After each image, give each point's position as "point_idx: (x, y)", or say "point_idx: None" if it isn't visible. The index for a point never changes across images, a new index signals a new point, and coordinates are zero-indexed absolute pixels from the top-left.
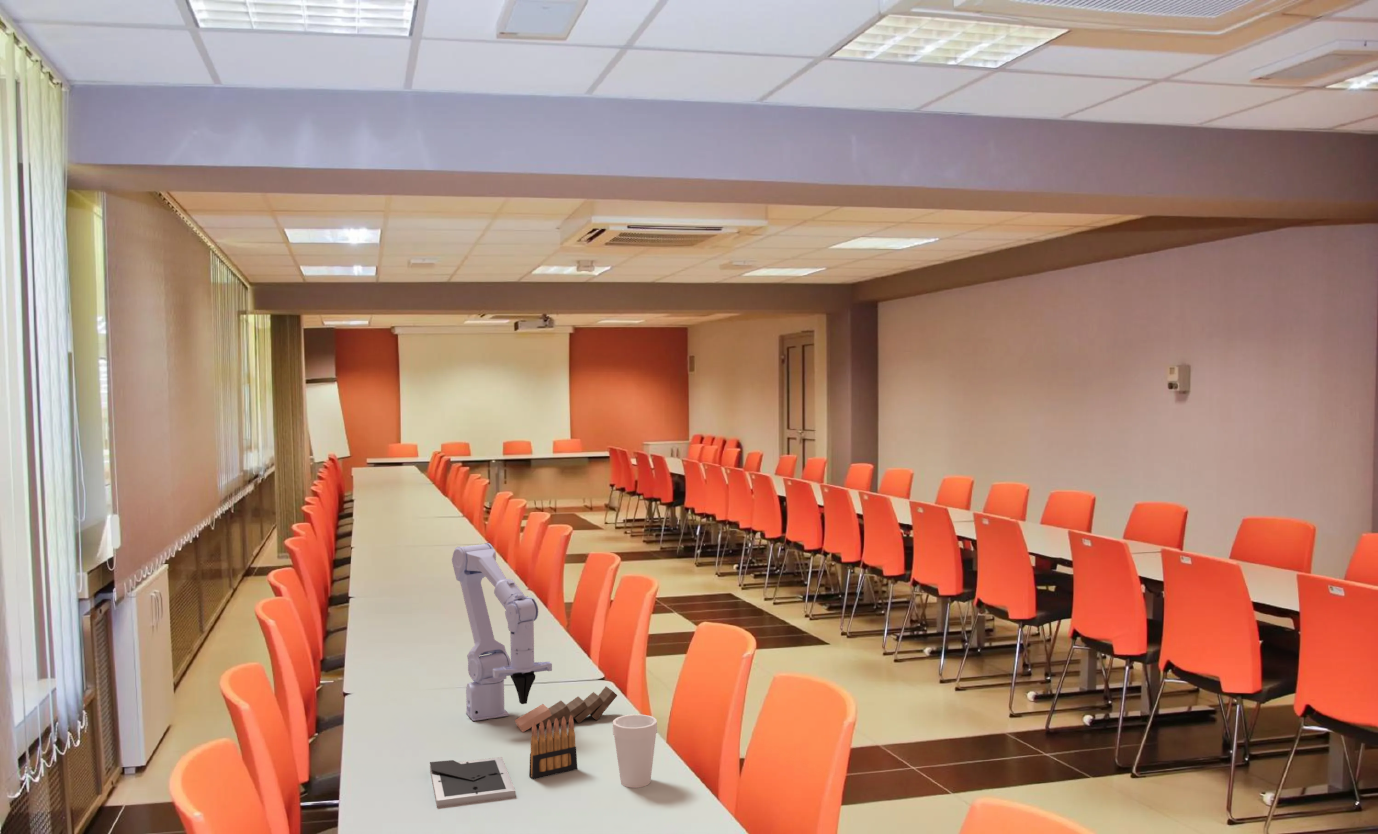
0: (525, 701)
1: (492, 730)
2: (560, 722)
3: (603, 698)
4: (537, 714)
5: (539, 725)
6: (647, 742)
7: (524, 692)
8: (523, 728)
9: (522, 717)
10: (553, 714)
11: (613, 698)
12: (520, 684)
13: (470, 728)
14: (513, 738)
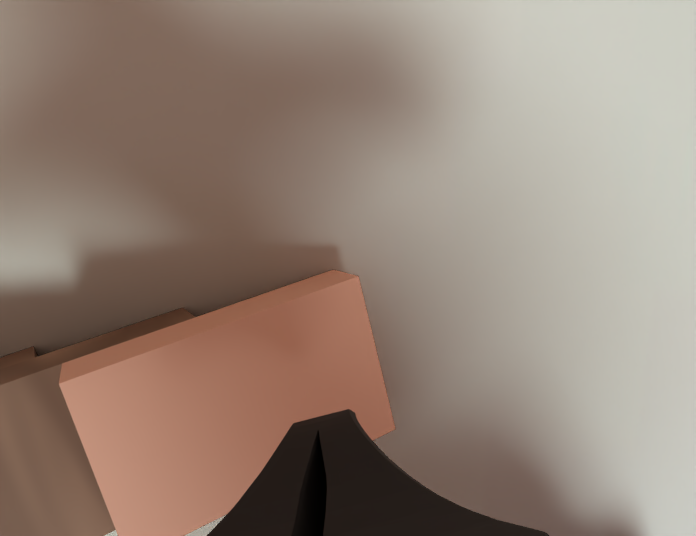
0: (306, 426)
1: (548, 354)
2: (21, 355)
3: None
4: (194, 364)
5: None
6: None
7: (317, 511)
8: (329, 277)
9: None
10: (42, 370)
11: None
12: (410, 528)
13: (688, 426)
14: (411, 134)
